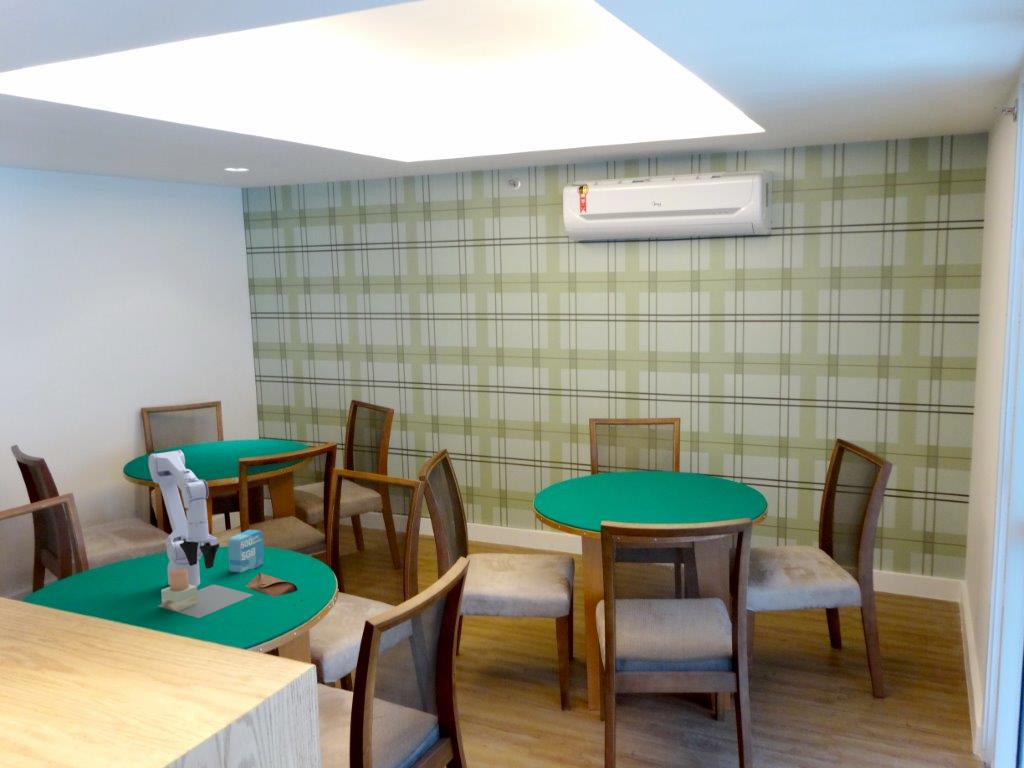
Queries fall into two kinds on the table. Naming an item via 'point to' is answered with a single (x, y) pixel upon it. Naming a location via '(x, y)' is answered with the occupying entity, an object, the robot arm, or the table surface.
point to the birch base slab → (180, 603)
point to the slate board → (212, 600)
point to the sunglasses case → (271, 585)
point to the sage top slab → (179, 594)
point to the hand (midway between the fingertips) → (201, 566)
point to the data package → (246, 551)
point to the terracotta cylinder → (178, 579)
